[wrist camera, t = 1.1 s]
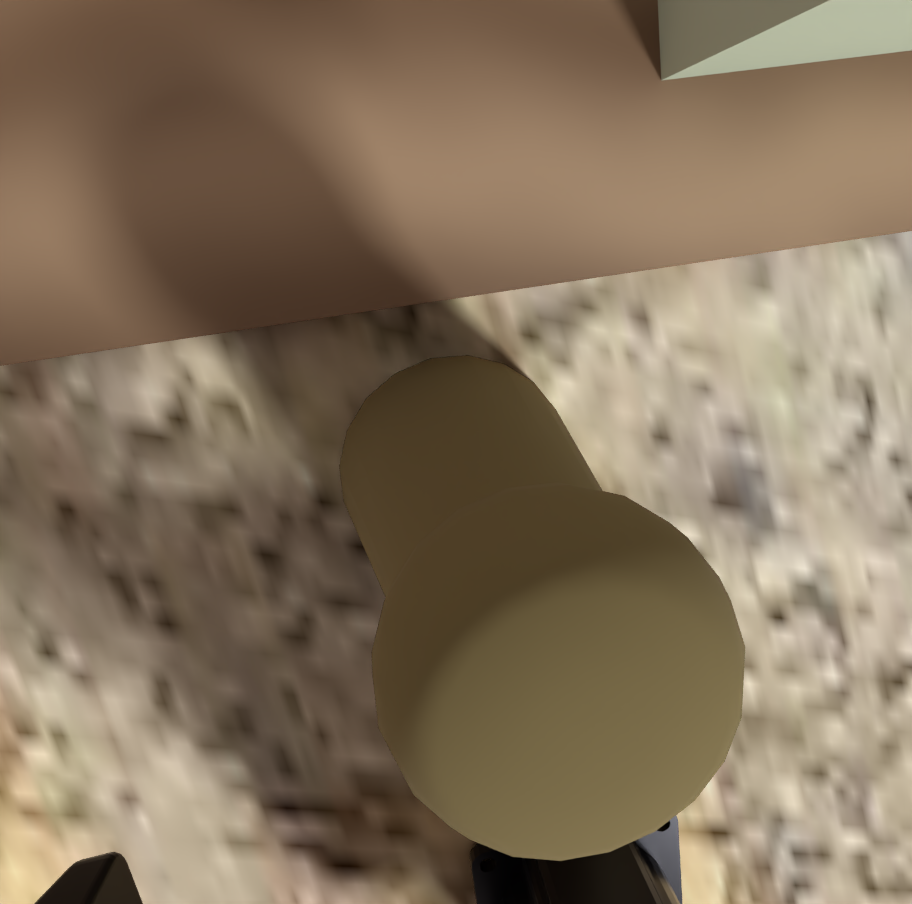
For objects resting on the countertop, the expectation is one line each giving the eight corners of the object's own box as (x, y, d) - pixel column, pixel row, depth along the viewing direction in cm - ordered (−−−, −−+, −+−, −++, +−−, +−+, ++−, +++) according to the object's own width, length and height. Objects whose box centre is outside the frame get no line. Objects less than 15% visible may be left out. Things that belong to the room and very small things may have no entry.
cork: (392, 317, 18) (465, 431, 8) (606, 405, 20) (912, 601, 9) (305, 536, 19) (267, 890, 9) (513, 604, 21) (689, 976, 10)
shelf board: (957, 219, 20) (1072, 216, 17) (-187, 387, 17) (-304, 421, 14) (992, -304, 16) (1142, -427, 13) (-423, -212, 13) (-647, -342, 10)
